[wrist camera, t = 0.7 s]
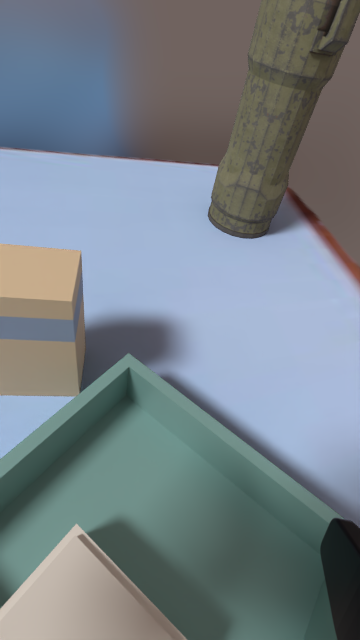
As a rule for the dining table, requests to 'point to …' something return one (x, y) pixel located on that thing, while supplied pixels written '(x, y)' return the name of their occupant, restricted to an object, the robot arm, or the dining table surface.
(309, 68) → the thermos
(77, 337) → the oat carton
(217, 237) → the dining table surface
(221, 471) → the tote
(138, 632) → the beige rectangular block
